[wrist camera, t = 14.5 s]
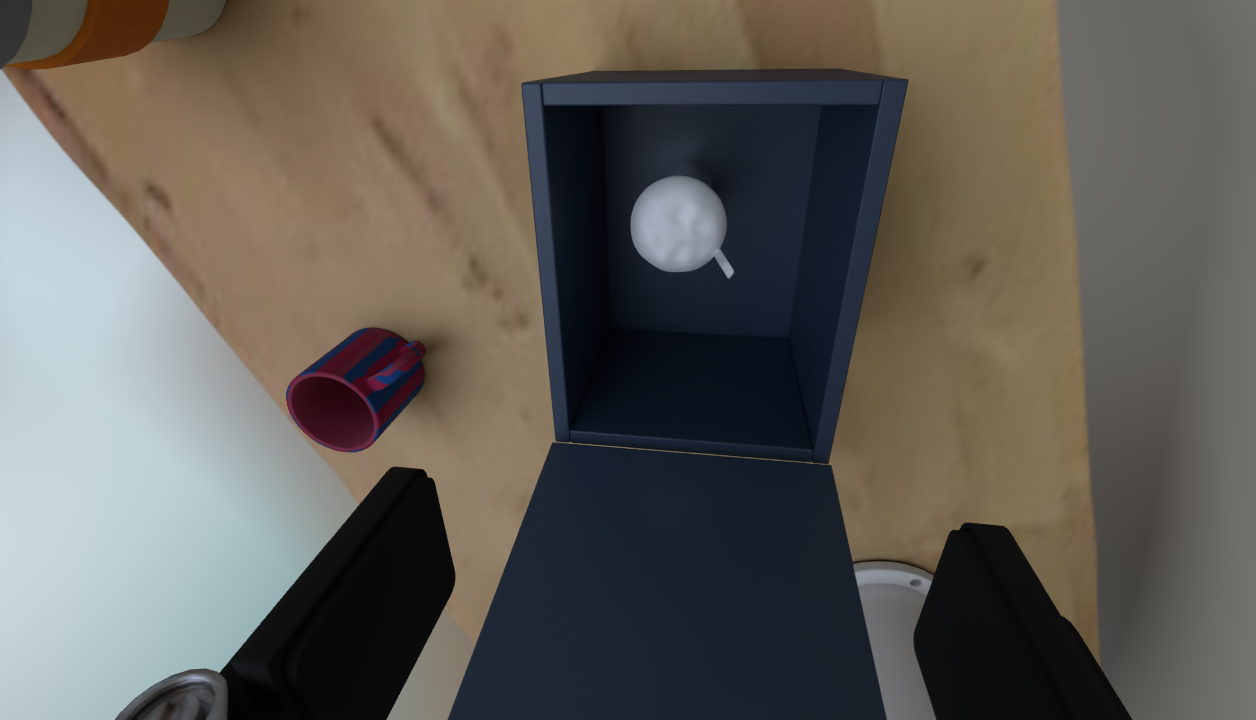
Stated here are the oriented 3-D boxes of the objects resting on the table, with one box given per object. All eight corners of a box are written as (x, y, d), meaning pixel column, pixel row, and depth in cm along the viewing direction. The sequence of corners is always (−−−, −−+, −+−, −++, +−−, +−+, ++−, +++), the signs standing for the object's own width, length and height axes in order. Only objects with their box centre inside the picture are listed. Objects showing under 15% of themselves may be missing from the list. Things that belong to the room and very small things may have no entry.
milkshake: (706, 248, 35) (701, 313, 26) (635, 199, 34) (605, 250, 25) (752, 186, 32) (764, 235, 24) (677, 132, 32) (660, 163, 23)
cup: (327, 345, 44) (265, 391, 38) (422, 297, 40) (371, 339, 34) (380, 410, 46) (330, 463, 40) (473, 371, 43) (434, 421, 37)
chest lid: (366, 930, 14) (376, 937, 14) (962, 1058, 12) (950, 1061, 12) (552, 441, 28) (553, 453, 28) (831, 464, 26) (828, 476, 27)
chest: (591, 71, 31) (520, 82, 20) (839, 68, 30) (909, 79, 19) (601, 332, 40) (555, 442, 29) (797, 343, 38) (828, 464, 27)
